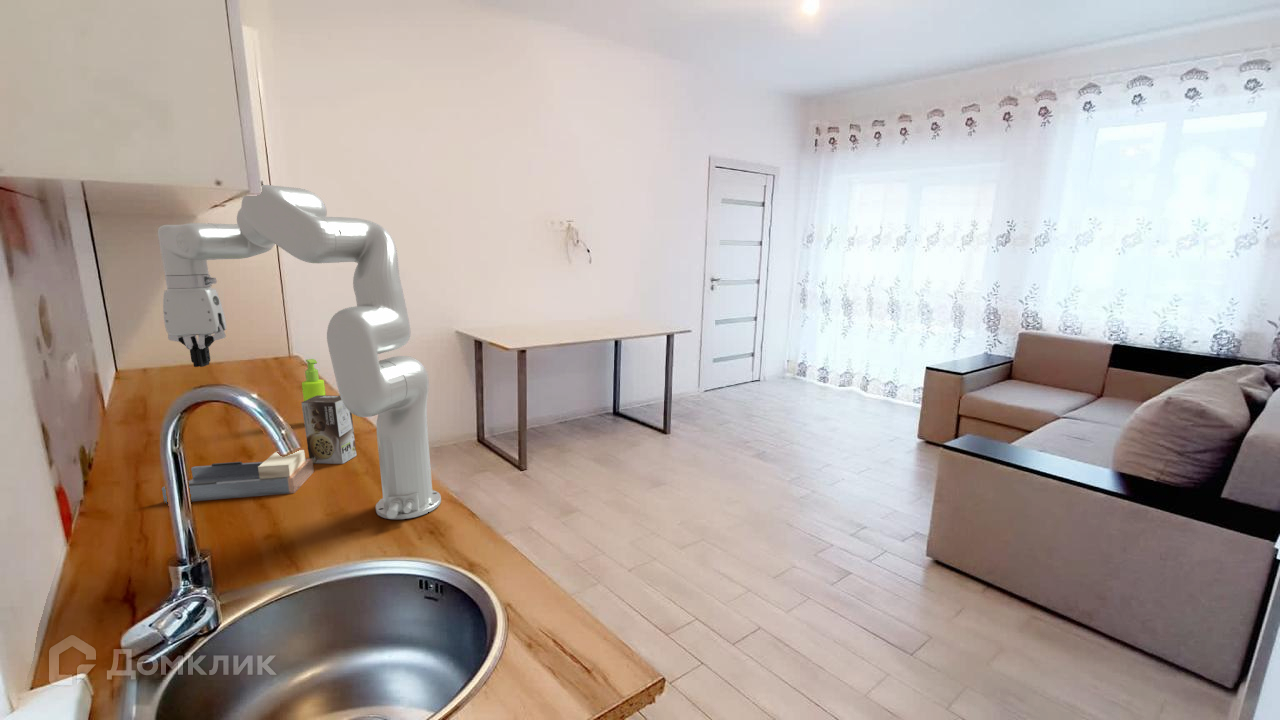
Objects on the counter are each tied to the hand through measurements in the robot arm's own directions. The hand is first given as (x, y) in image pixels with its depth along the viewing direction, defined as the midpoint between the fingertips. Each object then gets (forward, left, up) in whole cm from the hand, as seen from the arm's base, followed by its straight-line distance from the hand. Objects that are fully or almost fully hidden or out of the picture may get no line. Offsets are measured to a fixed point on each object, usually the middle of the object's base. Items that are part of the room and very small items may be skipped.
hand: (201, 365), depth 127 cm
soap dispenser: (+41, -8, -27) cm, 50 cm away
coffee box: (+8, -22, -27) cm, 36 cm away
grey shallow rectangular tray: (-6, -7, -27) cm, 29 cm away
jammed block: (-6, -16, -26) cm, 31 cm away
